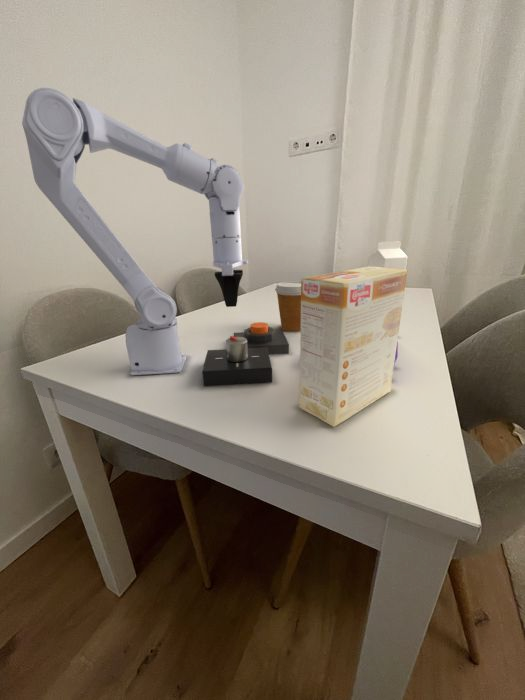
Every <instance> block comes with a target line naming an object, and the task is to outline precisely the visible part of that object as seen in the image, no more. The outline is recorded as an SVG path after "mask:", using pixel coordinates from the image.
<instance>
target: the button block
mask: <svg viewBox="0 0 525 700" xmlns="http://www.w3.org/2000/svg"><path fill="white" fill-rule="evenodd" d="M233 336H234V337H243V338H246V339H247V346H248V348H260V347H267V350H268V354H269V356H270V355H286V354H290V344H289V342H288V339H287V337H286V335H285V333H284V330H283V329H281V330H275V328H273V327H270V326H268V332H267V333H263V334H253V333H251V331H250V327H247V328H245V329H244V330H243V331H239V332H238V331H237V332H233Z"/></svg>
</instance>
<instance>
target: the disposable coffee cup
mask: <svg viewBox="0 0 525 700" xmlns="http://www.w3.org/2000/svg"><path fill="white" fill-rule="evenodd" d="M275 292H276V293H275V294H276V296H277V305H278V311H279V318H280V326H281V327H280V328H281V330H283V331H285V332H295V333H296V332H301V281H299V280H298V281H291V280H290V281H282V282H278V283H276V287H275Z"/></svg>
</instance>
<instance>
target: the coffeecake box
mask: <svg viewBox="0 0 525 700" xmlns="http://www.w3.org/2000/svg"><path fill="white" fill-rule="evenodd" d="M407 274H408V270H407V269H406V270H399V269H388V268H380V267H368V266H364V267H359V268H353V269H348V270H341V271H336V272H329V273H324V274H318V275H313V276H306V277H301V278H300V282H301V331H300V336H299V337H300V340H299V342H300V343H299V344H300V345H299V404H298V405H299V407H298V408H299V409H301V410H302V411H304V412H306V413H308V414H310V415H311V416H314V417H316V418H318V419H319V420H320V421H322V422H324V423H325V424H328V425H329V426H331V427H332V428H336V427H337V426H338V425H340V424H341V423H343V422H345V421H347V420H348V419H349V418H352V416H354V415H355V414H357V413H359V412H360V411H362V410H363V409H365V408H367V407H369V406H370V405H371V404H373V403H375V402H376V401H377V400H379V399H380V398H382V397H384V396H386V395H387V394H389V393H390V392H391V391H392V383H393V376H394V375H393V374H394V369H395V365H394V362H395V355H396V347H397V341H398V339H399V332H400V324H401V316H402V311H403V304H404V297H405V288H406V281H407V276H408V275H407ZM395 363H396V362H395Z"/></svg>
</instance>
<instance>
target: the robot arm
mask: <svg viewBox="0 0 525 700" xmlns="http://www.w3.org/2000/svg"><path fill="white" fill-rule="evenodd" d="M22 115H23V117H22V121H21V125H22V129H23V131H24V136H25V140H26V143H27V149H28V154H29V159H30V164H31V170H32V175H33V179H34V182H35V184H36V186H37V187H38V189H39V190H40V192H42V194H43V195H44V196H45V197H46V198H47V199H48V201H50V203H51V204H52V205H53V206H54V208H55V209H56V210H57V211H58V212H59V214H61V216H62V217H63V218H64V219H65V221H66V222H67V223H68V224H69V225H70V227H71V228H72V229H73V230H74V232H75V233H77V235H78V236H79V237H80V238H81V239H82V240H83V242H84V243H85V244H86V245H87V246H88V247H89V248H90V250H91V251H92V253H94V255H95V256H96V257H97V258H98V259H99V260H100V262H101V263H102V264H103V265H104V267H106V269H107V270H108V271H109V272H110V273H111V274H112V276H113V277H114V278H115V279H116V281H117V282H118V283H119V284H120V285H121V286H122V287H123V289H124V290H125V291H126V293H127V294H128V295H129V297H130V298H131V299H132V300H133V304H134V307H135V309H136V310H137V312H138V313H139V315H140V318H139V319H138V321H137V322H136V323H137V324H131V325H129V326H128V327H126V331H125V345H126V350H127V356H128V360H129V365H130V370H131V371H130V376H143V375H161V374H177V373H178V374H179V373H181V372H182V371H183V368H184V366H185V364H186V360H187V358H188V356H187V355H186V354H182V349H181V342H180V334H179V327H178V326H179V325H178V320H177V318H176V316H177V313H178V308H177V304H176V301H175V300H174V298H172V297H171V295H169V294H167V293H165V291H164V290H162V289H161V288H160V287H158V286H157V285H156V284H155V283H154V281H152V280H151V278H150V277H149V276H148V275H147V274H146V272H145V271H144V270H143V268H142V267H141V266H140V265H139V264H138V263H137V261H136V259H134V257H133V256H132V255H131V254H130V252H129V250H127V248H126V247H125V245H124V244H123V243H122V242H121V241H120V239H119V238H118V237H117V236H116V234H115V233H114V232H113V230H112V229H111V228H110V227H109V225H108V224H107V222H106V221H105V220H104V219H103V217H101V215H100V214H99V212H98V211H97V210H96V208H94V206H93V204H91V202H90V201H89V200H88V198H87V197H86V196H85V194H84V193H83V192H82V191H81V189H80V188H79V187H78V186H77V184H76V176H77V167H78V166H77V164H78V162H79V161H80V159H81V157H82V155H83V153H84V150H85V148H86V145H88V147H89V153H90V154H92V153H93V154H94V153H97V152H101V151H105V150H113V151H115V152H119V153H121V154H123V155H126V156H128V157H131V158H133V159H137V160H138V161H141V162H144V163H147V164H148V165H152V166H154V167H156V168H159V169H161V170H162V172H163V174H164V175H165V177H166V179H167V180H168V181H169V182H172V183H174V184H177V185H179V186H181V187H184V188H186V189H188V190H190V191H193V192H196V193H197V194H201V195H204V197H205V198H206V199H207V201H208V206H209V222H210V232H211V233H210V234H211V245H212V246H211V247H212V256H213V261H212V266H213V267H215V268H218V269H221V271H215V272H214V277H215V279H216V281H217V283H218V285H219V287H220V290H221V293H222V297H223V301H224V304H225V307H226V308H231V307H232V308H233V307H237V304H238V295H239V288H240V284H241V281H242V277H243V275H244V273H243V272H244V270H243V269H236V268H238V267H241V266H243V265H248V264H249V260H248V259H243V248H242V227H241V212H240V211H241V210H240V198H241V197H242V195H243V192H244V190H245V183H244V182H243V181H242V177H241V175H240V173H238V170H237V169H236V168H235V167H234V166H232V165H230V164H221V165H219V164H218V159H216V158H214V157H212V158H208V157H206V156H204V155H202V154H200V153H199V152H196V151H194V150H192V145H190V144H189V143H186V142H184V143H183V144H180V143H178V142H177V143H174V144H171V145H169V146H165V145H164V144H162V143H160V142H158V141H156V140H154V139H152V138H151V137H150V136H149V137H148V136H147V135H145V134H143V133H142V132H139V131H138V130H135V129H133V128H132V127H130V126H128V125H126V124H124V123H122V122H121V121H118V120H117V119H116V118H113V117H111V116H110V115H108V114H106V113H104V112H102V111H101V110H99V109H97V108H95V107H93V106H92V105H90V104H89V103H87V102H86V101H83V100H81V99H78V98H75V97H72V99H71V98H69V97H68V96H67V95H66V94H64V93H63V92H61V91H60V90H57V89H55V88H51V87H40V88H39V87H38V88H36V89H34V90H33V91H31V92H30V93H29V94H28V96H27V97H26V102H25V106H24V109H23V114H22Z"/></svg>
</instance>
